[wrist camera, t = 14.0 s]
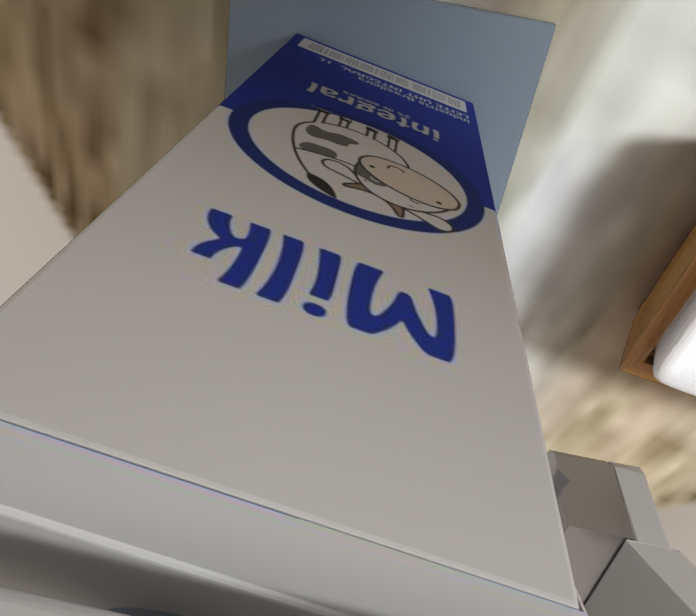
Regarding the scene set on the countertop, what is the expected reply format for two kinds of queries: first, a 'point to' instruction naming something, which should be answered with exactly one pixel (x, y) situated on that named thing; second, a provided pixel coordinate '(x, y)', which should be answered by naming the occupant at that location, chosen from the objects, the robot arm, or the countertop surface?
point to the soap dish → (667, 326)
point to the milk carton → (285, 374)
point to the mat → (413, 55)
